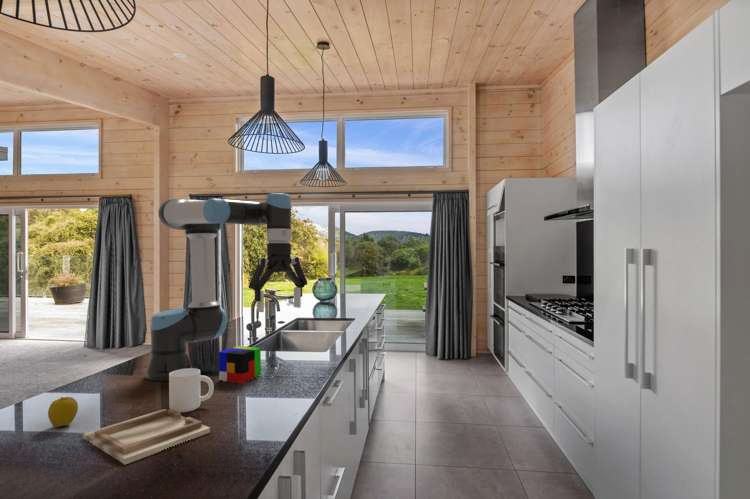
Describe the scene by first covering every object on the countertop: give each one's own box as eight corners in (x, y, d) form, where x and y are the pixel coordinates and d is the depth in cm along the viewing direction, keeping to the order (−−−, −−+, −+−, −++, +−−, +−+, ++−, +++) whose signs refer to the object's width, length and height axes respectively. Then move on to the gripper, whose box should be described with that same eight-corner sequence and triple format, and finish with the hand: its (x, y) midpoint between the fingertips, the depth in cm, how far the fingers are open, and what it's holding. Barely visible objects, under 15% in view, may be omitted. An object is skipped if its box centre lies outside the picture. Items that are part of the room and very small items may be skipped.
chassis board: (83, 438, 106) (83, 428, 106) (164, 413, 122) (164, 404, 122) (125, 464, 93) (125, 453, 93) (210, 432, 109) (209, 422, 109)
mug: (216, 401, 132) (215, 366, 132) (211, 411, 124) (211, 374, 124) (173, 403, 130) (173, 369, 129) (165, 414, 121) (165, 377, 121)
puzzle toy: (219, 380, 152) (218, 352, 152) (238, 373, 162) (238, 345, 162) (242, 383, 149) (242, 354, 149) (260, 375, 158) (260, 348, 158)
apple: (55, 433, 110) (54, 401, 110) (43, 427, 113) (43, 396, 113) (83, 424, 115) (82, 393, 115) (71, 419, 118) (71, 389, 118)
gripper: (249, 242, 127) (249, 315, 127) (317, 242, 145) (318, 306, 145) (236, 242, 133) (237, 312, 133) (304, 242, 150) (304, 304, 150)
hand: (279, 309), depth 139 cm, fingers open, 13 cm apart
